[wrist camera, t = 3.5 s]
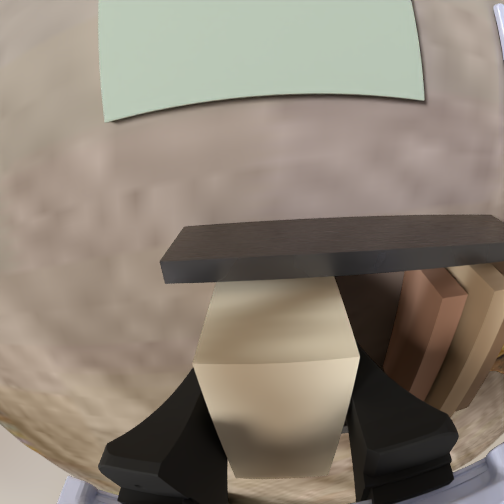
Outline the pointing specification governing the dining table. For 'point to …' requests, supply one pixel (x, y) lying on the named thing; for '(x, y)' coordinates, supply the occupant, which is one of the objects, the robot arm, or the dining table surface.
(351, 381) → the birch block
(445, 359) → the offcut stack
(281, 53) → the rubber mat
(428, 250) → the rack
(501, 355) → the shard
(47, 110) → the dining table surface
